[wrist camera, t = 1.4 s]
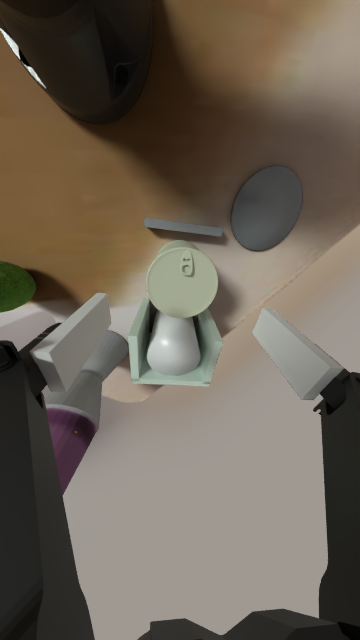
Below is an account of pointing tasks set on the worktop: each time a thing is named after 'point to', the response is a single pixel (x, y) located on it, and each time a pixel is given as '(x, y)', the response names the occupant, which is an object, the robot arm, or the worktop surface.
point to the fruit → (14, 286)
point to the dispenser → (174, 336)
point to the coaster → (266, 208)
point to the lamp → (81, 406)
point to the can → (181, 280)
